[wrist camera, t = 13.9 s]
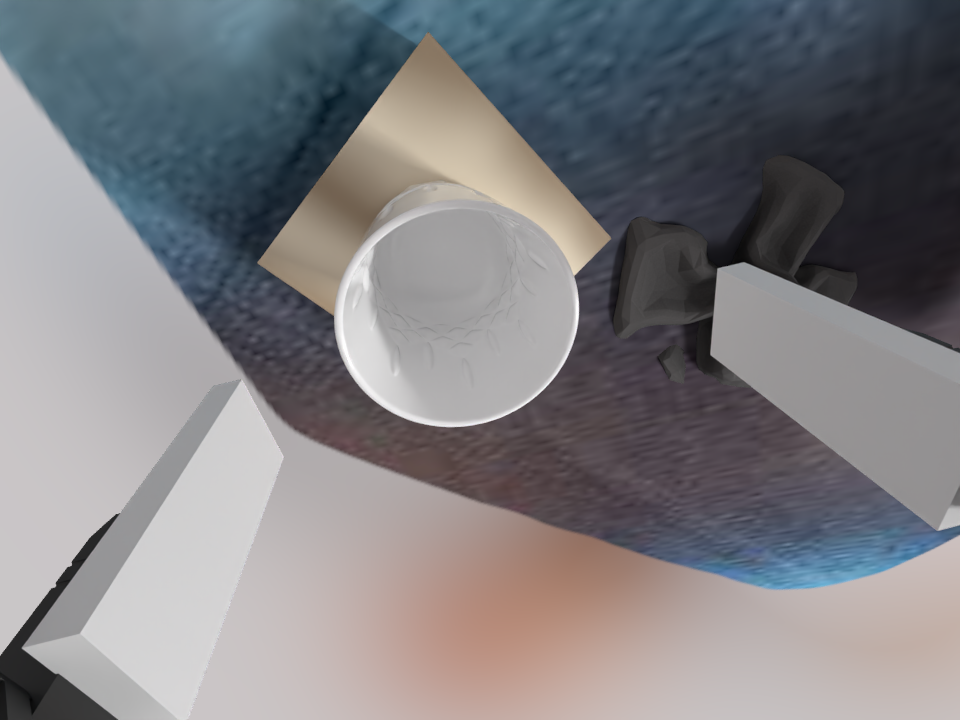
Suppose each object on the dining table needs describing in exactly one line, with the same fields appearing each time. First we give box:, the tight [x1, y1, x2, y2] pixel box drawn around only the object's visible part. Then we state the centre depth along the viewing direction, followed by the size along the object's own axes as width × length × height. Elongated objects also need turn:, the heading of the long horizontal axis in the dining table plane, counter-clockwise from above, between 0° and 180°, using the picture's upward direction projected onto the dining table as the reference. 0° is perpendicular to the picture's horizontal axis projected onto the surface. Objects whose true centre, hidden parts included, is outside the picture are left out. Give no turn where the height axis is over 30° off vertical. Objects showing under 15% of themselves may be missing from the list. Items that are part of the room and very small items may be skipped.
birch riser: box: [258, 32, 611, 316], centre depth 25 cm, size 13×13×5 cm
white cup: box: [334, 180, 579, 427], centre depth 19 cm, size 8×8×10 cm
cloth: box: [613, 155, 857, 388], centre depth 32 cm, size 22×19×6 cm
